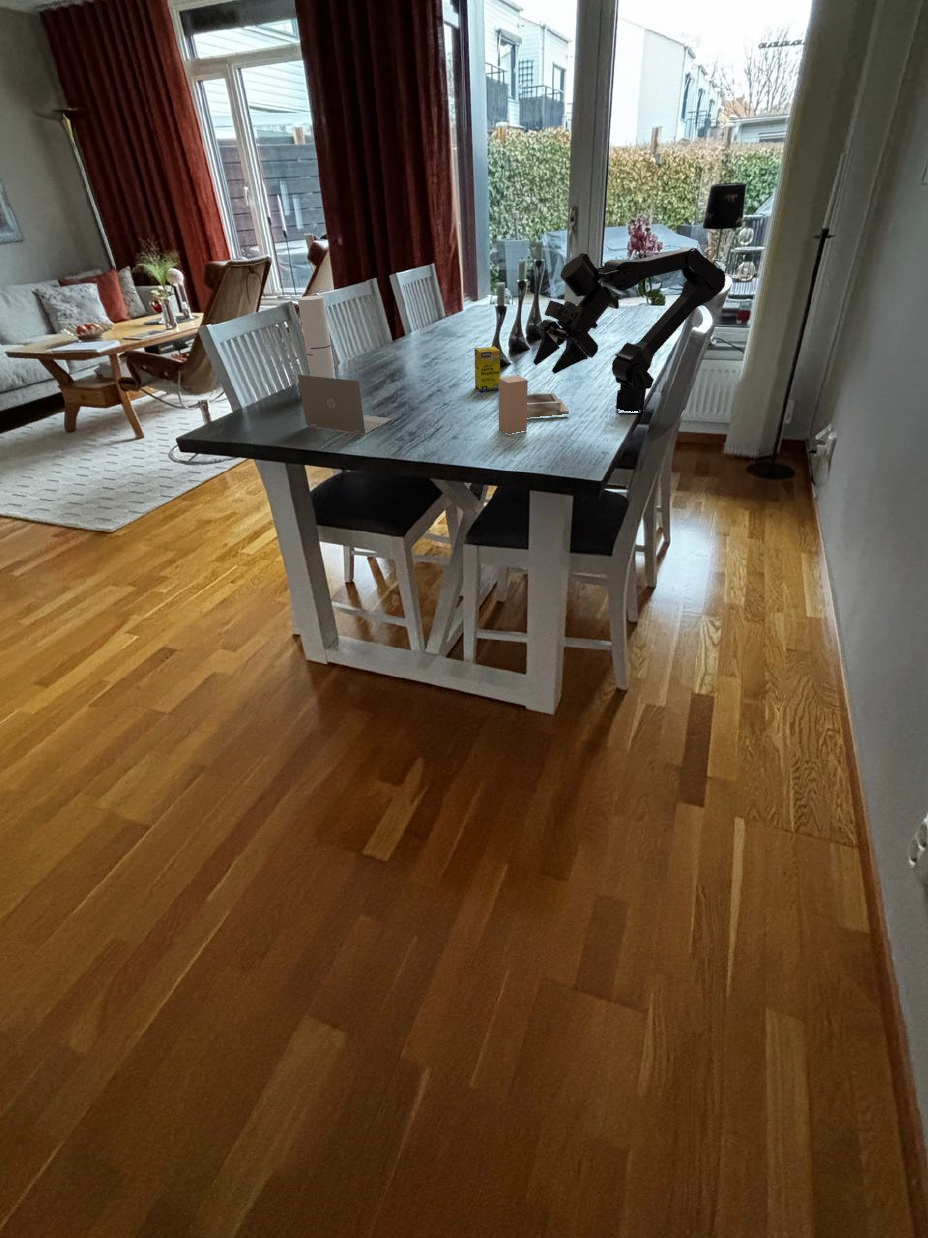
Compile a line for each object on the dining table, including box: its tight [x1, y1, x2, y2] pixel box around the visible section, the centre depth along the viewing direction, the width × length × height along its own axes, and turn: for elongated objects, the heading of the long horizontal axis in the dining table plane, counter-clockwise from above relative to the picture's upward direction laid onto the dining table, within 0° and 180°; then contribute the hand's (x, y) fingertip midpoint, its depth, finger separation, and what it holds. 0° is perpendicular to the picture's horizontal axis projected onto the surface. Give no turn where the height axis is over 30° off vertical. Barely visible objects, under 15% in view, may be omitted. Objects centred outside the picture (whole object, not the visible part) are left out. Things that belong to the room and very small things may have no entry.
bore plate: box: [527, 392, 570, 418], centre depth 163 cm, size 13×11×4 cm
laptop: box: [297, 374, 393, 436], centre depth 159 cm, size 18×12×13 cm
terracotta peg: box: [498, 375, 529, 434], centre depth 150 cm, size 5×5×12 cm
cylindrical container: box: [297, 295, 337, 379], centre depth 182 cm, size 7×7×25 cm
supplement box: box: [474, 345, 501, 393], centre depth 181 cm, size 6×6×11 cm
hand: (543, 367), depth 148 cm, fingers open, 9 cm apart
